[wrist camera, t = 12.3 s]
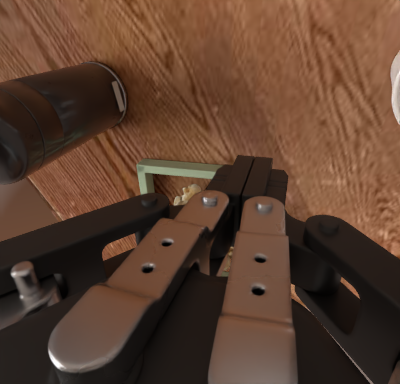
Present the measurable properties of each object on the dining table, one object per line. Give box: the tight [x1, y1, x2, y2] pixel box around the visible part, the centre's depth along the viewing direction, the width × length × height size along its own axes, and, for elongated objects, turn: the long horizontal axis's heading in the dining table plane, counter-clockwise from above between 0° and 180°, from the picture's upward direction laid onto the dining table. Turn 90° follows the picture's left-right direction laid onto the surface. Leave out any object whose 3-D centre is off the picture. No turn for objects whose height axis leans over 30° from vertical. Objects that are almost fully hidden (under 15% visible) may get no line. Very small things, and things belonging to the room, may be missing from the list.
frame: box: [137, 159, 229, 276], centre depth 51 cm, size 16×21×2 cm
